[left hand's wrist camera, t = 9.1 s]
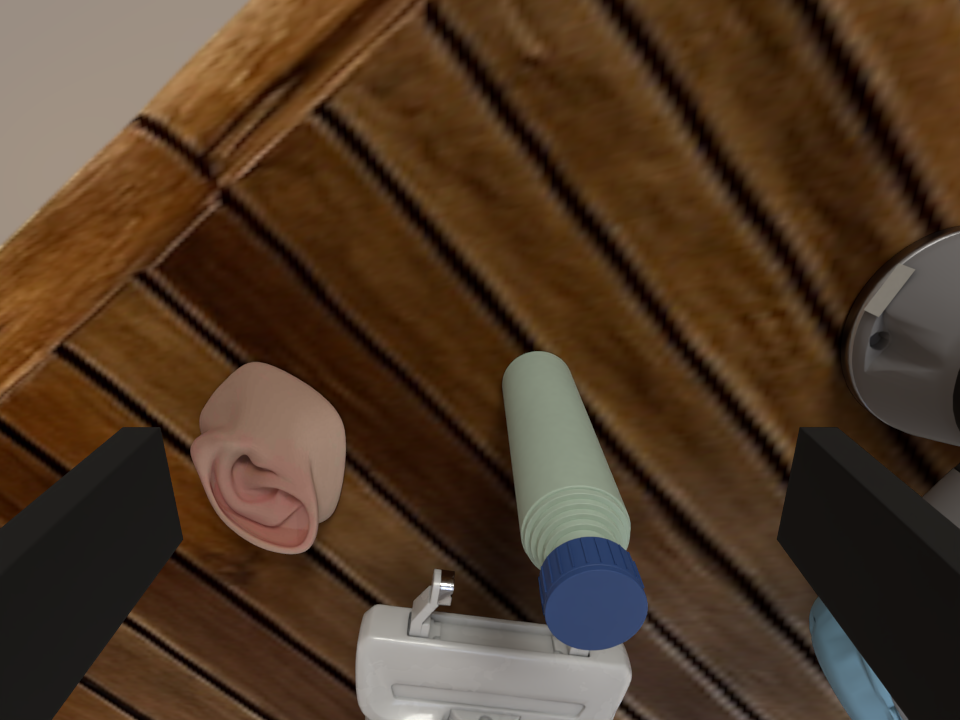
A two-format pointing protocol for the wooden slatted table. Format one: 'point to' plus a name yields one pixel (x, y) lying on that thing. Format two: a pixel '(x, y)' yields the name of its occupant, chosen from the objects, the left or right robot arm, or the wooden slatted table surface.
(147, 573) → the left robot arm
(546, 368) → the bottle
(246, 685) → the wooden slatted table surface
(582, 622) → the cap
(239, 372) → the anatomical model
